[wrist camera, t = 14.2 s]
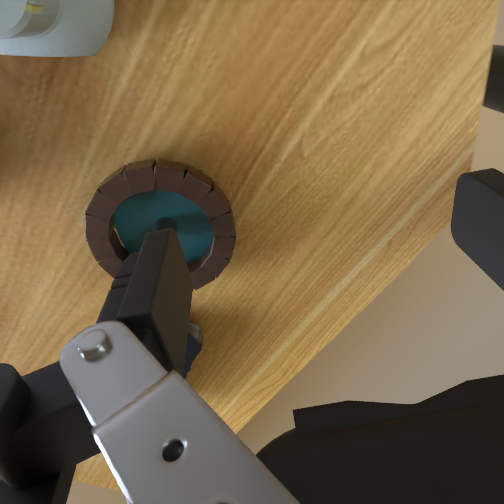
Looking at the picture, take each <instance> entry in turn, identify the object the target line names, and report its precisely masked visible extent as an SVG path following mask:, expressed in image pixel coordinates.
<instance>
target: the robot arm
mask: <svg viewBox="0 0 504 504" xmlns="http://www.w3.org/2000/svg"><path fill="white" fill-rule="evenodd" d="M451 233H452V236H453V239H454V241H455V243H456V244H457V245H458V246H459V247H460V248H461V249H462V250H463V251H464V252H465V253H466V254H467V255H468V256H469V257H470V258H471V259H472V260H473V261H474V262H475V263H476V264H477V265H478V266H479V267H480V268H481V269H482V270H483V271H484V272H485V273H486V274H487V275H488V276H489V277H490V278H491V279H492V280H493V281H494V282H496V284H497V285H498V286H499V287H501V289H503V290H504V174H503V173H502V172H500V171H498V170H496V169H493V168H491V169H486V170H479V171H474V172H469V173H464V174H462V175H460V177H459V178H458V181H457V185H456V191H455V199H454V206H453V213H452V220H451ZM191 299H192V281H191V276H190V272H189V269H188V266H187V263H186V260H185V257H184V254H183V251H182V248H181V245H180V242H179V239H178V236H177V234H176V232H175V230H174V229H173V228H170V229H164V230H159V231H154V232H148V233H146V235H145V238H144V240H143V243H142V246H141V249H140V252H134V253H131V254H130V255H129V256H128V257H127V258H126V259H125V260H124V261H123V262H122V263H121V264H120V266H119V269H118V271H117V274H116V276H115V280H114V281H113V283H112V286H111V290H110V291H109V293H108V295H107V298H106V300H105V303H104V305H103V308H102V310H101V312H100V315H99V317H98V320H97V322H96V324H94V325H92V326H89V327H87V328H85V329H84V330H82V331H81V332H79V333H78V334H76V335H75V336H74V337H73V338H72V339H71V340H70V341H69V342H68V343H67V344H66V345H65V347H64V349H63V350H62V353H61V355H60V361H58V362H56V363H53V364H51V365H48V366H46V367H44V368H41V369H39V370H37V371H34V372H32V373H29V374H27V375H25V376H22V377H21V376H20V374H19V373H18V372H17V371H16V369H15V368H14V367H13V366H11V365H9V364H5V363H0V504H66V502H67V498H68V494H69V491H70V487H71V483H72V480H73V476H74V472H75V468H76V465H77V464H78V463H80V462H82V461H84V460H86V459H88V458H90V457H92V456H94V455H96V454H98V453H100V452H102V454H103V456H104V458H105V459H106V461H107V463H108V465H109V467H110V469H111V471H112V473H113V475H114V477H115V479H116V481H117V482H118V484H119V486H120V488H121V490H122V492H123V494H124V496H125V498H126V500H127V502H128V504H504V375H498V376H492V377H487V378H480V379H474V380H469V381H465V382H463V383H461V384H459V385H457V386H455V387H452V388H450V389H448V390H446V391H444V392H442V393H439V394H437V395H435V396H433V397H430V398H428V399H426V400H424V401H422V402H420V403H416V404H394V403H379V402H363V401H343V402H337V403H331V404H325V405H319V406H313V407H307V408H301V409H295V410H293V415H294V421H295V427H296V428H294V429H292V430H289V431H287V432H285V433H283V434H282V435H280V436H279V437H277V438H275V439H274V440H272V441H271V442H270V443H269V444H267V445H266V446H265V447H264V448H262V449H261V450H260V451H259V452H258V453H257V454H256V455H255V454H254V453H253V452H252V451H251V450H250V449H249V448H248V447H247V446H246V445H245V444H244V443H243V442H242V440H241V439H240V438H239V437H238V436H237V435H236V434H235V433H234V432H233V431H232V430H231V429H230V428H229V426H228V425H227V424H226V423H225V422H224V421H223V420H222V419H221V418H220V417H219V416H218V415H217V414H216V412H215V411H214V410H213V409H212V408H211V407H210V406H209V405H208V404H207V403H206V402H205V401H204V400H203V399H202V397H201V396H200V395H199V394H198V393H197V392H196V391H195V390H194V389H193V388H192V387H191V386H190V385H189V383H188V382H187V381H186V380H185V379H184V378H183V372H184V363H185V354H186V345H187V336H188V327H189V318H190V309H191Z"/></svg>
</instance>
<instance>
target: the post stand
mask: <svg viewBox="0 0 504 504" xmlns="http://www.w3.org/2000/svg"><path fill="white" fill-rule="evenodd" d="M199 171H200V172H201V173H203V170H199ZM203 174H204V173H203ZM114 224H115V226H116V229H117V231H118V233H119V236H120V238H121V240H122V243H123V245H124V247H125V249H126V250H127V251H128V252H129V253H130V254H131V253H134V252H140V249H141V246H142V243H143V240H144V238H145V235H146V233H148V232H154V231H159V230H164V229H170V228H173V229H174V230H175V232H176V234H177V236H178V239H179V242H180V245H181V248H182V251H183V254H184V257H185V260H186V263H187V264H189V263H191V262H192V261H194V260H196V259H197V258H199V257H201V256H202V255H203V253H204V252H205V251H206V249H207V248H208V247H209V245H210V244H211V241H212V236H213V231H212V228H211V224H210V220H209V219H208V217H207V216H206V215H205V214H204V212H203V211H202V210H201V209H200V207H199V206H198V205H197V204H195V203H194V202H192V201H190V200H188V199H187V198H185V197H183V196H181V195H180V194H178V193H173V192H167V191H161V190H153V191H147V192H142V193H137V194H134V195H132V196H131V197H129V198H128V199H126V200H125V201H124V202H122V203H121V204H119V205H118V207H117V208H116V210H115V216H114Z"/></svg>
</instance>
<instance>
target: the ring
mask: <svg viewBox="0 0 504 504" xmlns="http://www.w3.org/2000/svg"><path fill="white" fill-rule="evenodd" d="M185 169H186V170H185ZM153 190H161V191H167V192H173V193H178V194H180V195H181V196H183V197H185V198H187V199H188V200H190V201H192V202H194V203H195V204H197V205H198V206H199V207H200V209H201V210H202V211H203V212H204V214H205V215H206V216H207V217H208V219H209V220H210V224H211V228H212V231H213V236H212V241H211V244H210V245H209V247H208V248H207V249H206V251H205V252H204V253H203V255H202V256H201V257H199V258H197V259H196V260H194V261H192V262H191V263H189V264H187V266H188V269H189V272H190V276H191V281H192V291H193V290H194V289H195V290H197V289H199V288H201V287H203V286H204V285H206V284H208V283H210V282H211V281H213V280H215V277H216V278H217V277H218V276H219V275H220V273H221V272H222V271H223V270H224V268H225V267H226V266H227V264H228V263H229V262H230V259H231V258H232V254H233V249H234V245H235V241H236V228H235V222H234V217H233V213H232V208H231V204H229V200H228V199H227V197H226V196H225V195H224V193H223V192H222V191H221V189H220V188H219V187H218V185H217V184H216V183H215V182H212V179H211V178H210V177H208V176H206V175H205V174H203V173H201V172H200V171H198V170H197V169H195V168H193V167H192V166H190V165H188V167H187V168H186V164H184V163H179V162H173V161H168V160H163V159H158V160H157V163H156V160H155V159H150V160H145V161H139V162H134V163H129V164H128V165H127V166H126V165H124V166H123V167H122V168H120V169H119V170H117V171H116V172H115V173H113V174H112V175H110V176H109V177H108V178H106V179H105V180H104V181H103V182H102V183H101V185H100V186H99V188H98V189H97V191H96V193H95V194H94V196H93V198H92V200H91V202H90V204H89V206H88V208H87V210H86V214H85V238H87V240H86V241H87V243H88V245H89V247H90V249H91V251H92V253H93V255H94V257H95V259H96V261H97V262H98V261H99V263H98V264H99V265H100V266H101V267H102V268H103V269H104V270H105V271H106V272H108V273H109V274H110V275H111V276H112V277H113V278H114V279H115V276H116V274H117V271H118V269H119V266H120V264H121V263H122V262H123V261H124V260H125V259H126V258H127V257H128V256H129V255H130V253H129V252H128V251H127V250H126V249H125V248H124V247H123V246H122V245H121V243H120V241H119V239H118V236H117V234H116V232H115V230H114V216H115V210H116V208H117V207H118V205H119V204H121V203H122V202H124V201H125V200H126V199H128V198H129V197H131V196H132V195H134V194H137V193H142V192H147V191H153Z"/></svg>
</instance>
